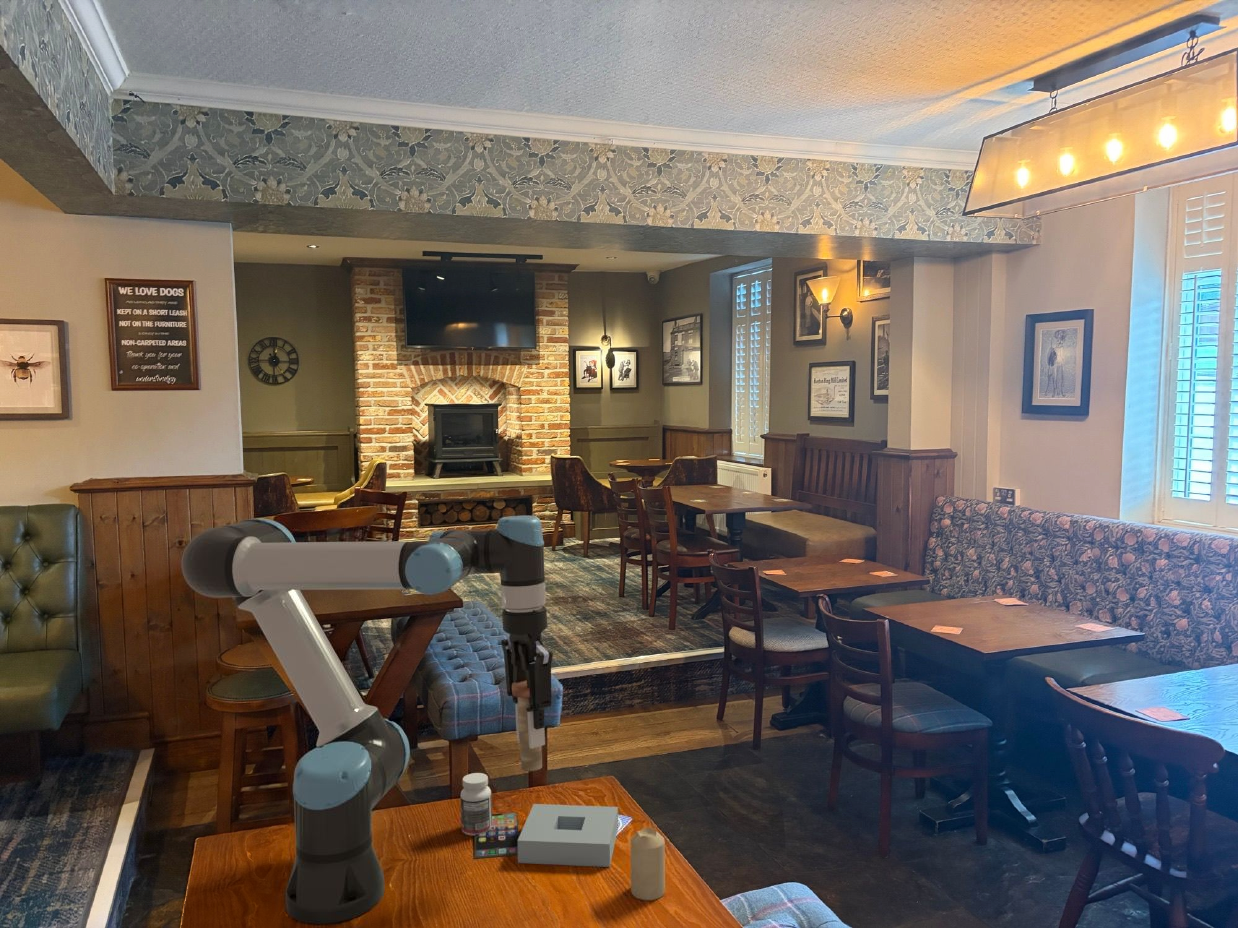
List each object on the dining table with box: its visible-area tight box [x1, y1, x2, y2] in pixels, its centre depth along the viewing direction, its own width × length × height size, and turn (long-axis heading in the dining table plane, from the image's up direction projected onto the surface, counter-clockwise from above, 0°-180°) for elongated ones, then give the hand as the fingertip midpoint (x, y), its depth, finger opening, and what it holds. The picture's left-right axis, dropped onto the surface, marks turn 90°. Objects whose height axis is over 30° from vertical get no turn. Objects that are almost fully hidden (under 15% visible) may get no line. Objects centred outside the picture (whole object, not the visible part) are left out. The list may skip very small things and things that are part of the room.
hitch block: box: [517, 803, 619, 868], centre depth 155 cm, size 16×14×4 cm
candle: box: [630, 827, 666, 901], centre depth 140 cm, size 6×6×10 cm
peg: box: [512, 680, 543, 772], centre depth 147 cm, size 5×5×14 cm
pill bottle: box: [459, 772, 493, 837], centre depth 161 cm, size 6×6×10 cm
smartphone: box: [473, 812, 520, 860], centre depth 159 cm, size 8×15×1 cm, turn 9°
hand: (530, 742), depth 147 cm, fingers closed on peg, 3 cm apart
